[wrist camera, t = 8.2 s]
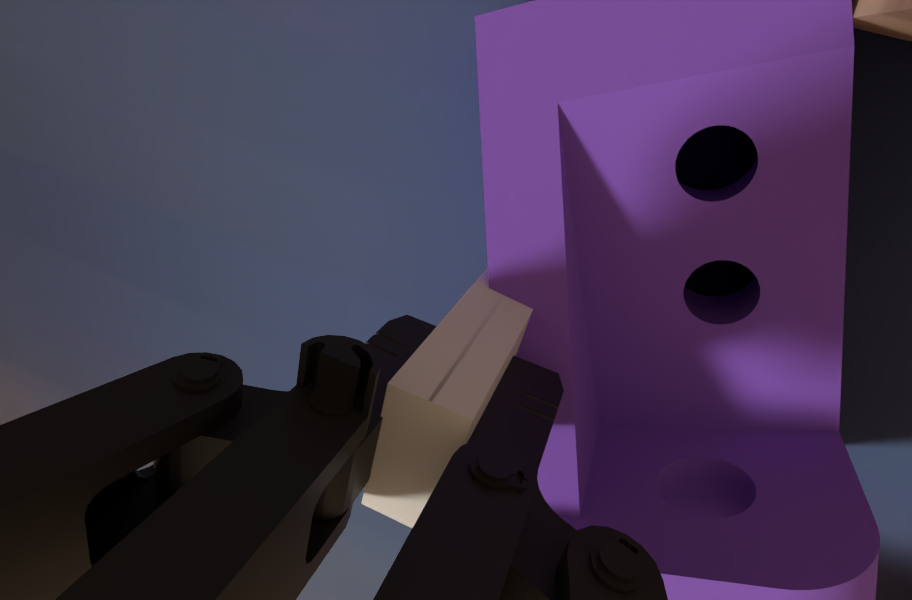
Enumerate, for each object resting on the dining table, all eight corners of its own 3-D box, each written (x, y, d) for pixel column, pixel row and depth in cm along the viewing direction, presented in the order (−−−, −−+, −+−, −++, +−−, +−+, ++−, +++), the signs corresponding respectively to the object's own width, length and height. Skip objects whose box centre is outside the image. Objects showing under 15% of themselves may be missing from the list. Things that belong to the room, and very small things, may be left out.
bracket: (815, 443, 15) (899, 698, 9) (561, 433, 18) (501, 625, 12) (826, -69, 11) (992, -196, 5) (494, 18, 14) (355, 1, 8)
